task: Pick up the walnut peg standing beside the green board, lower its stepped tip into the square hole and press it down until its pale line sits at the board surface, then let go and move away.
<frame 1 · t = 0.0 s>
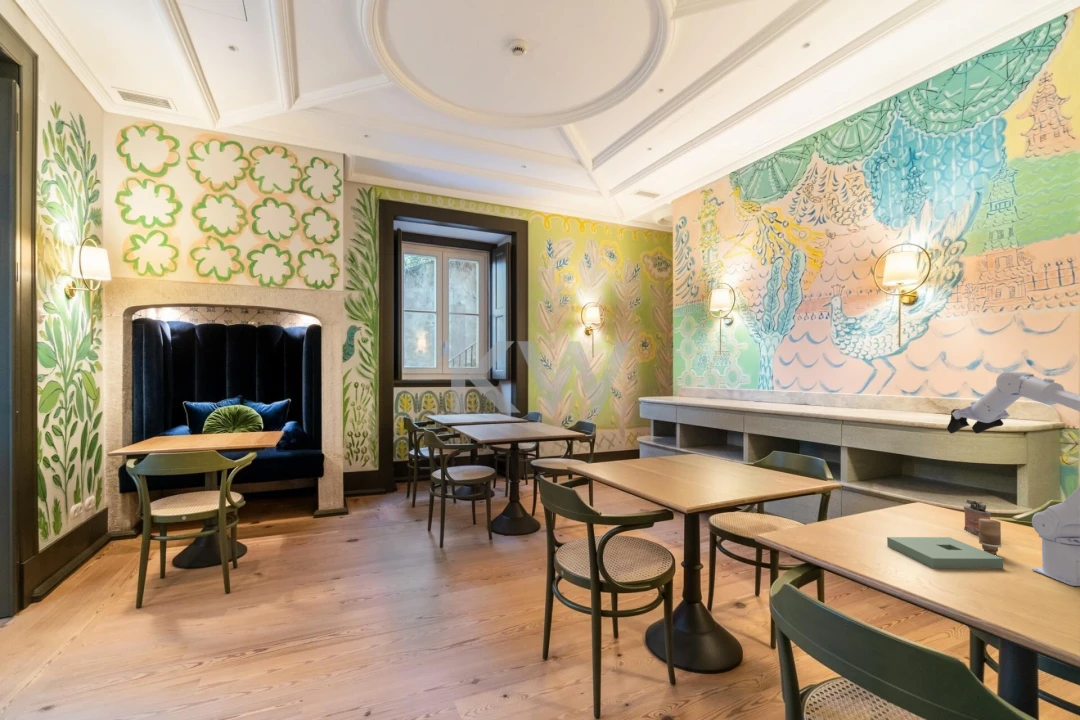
hand: (962, 430, 147), 32 cm above the table, tool tilted 50°, fingers open, 7 cm apart
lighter: (977, 534, 151), on the table
board: (941, 556, 131), on the table
peg: (990, 554, 133), on the table
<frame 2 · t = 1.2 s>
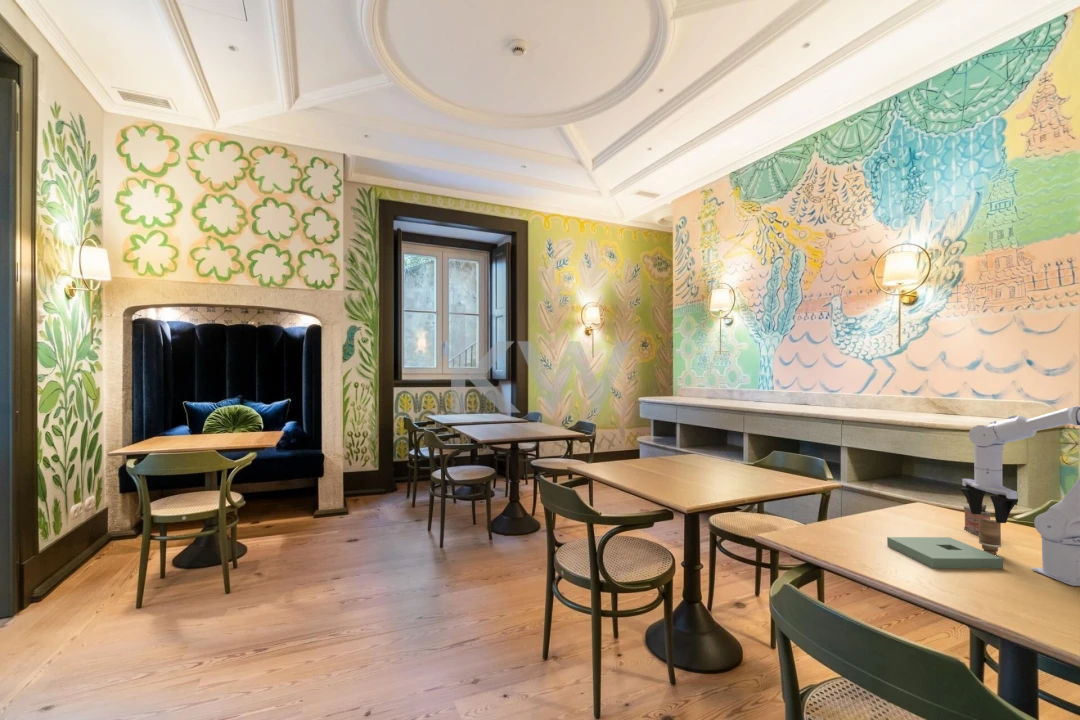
hand: (988, 518, 134), 10 cm above the table, tool pointing down, fingers open, 7 cm apart
nothing on the table moved.
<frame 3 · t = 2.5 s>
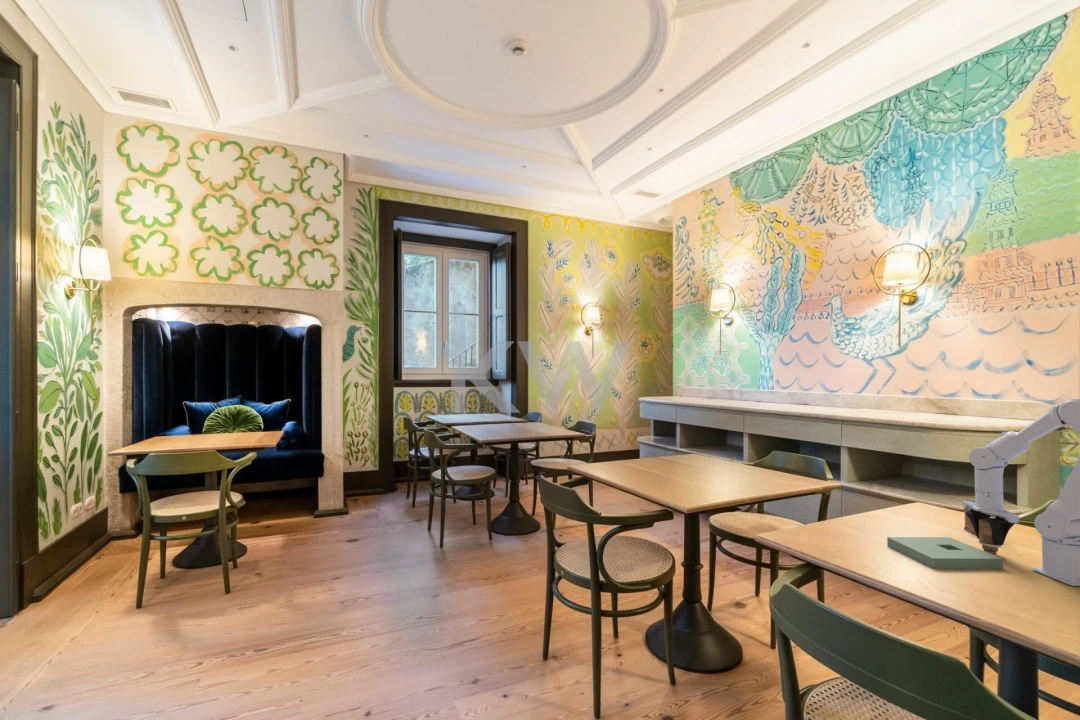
hand: (989, 541, 134), 3 cm above the table, tool pointing down, fingers closed on peg, 4 cm apart
peg: (990, 554, 133), on the table, touching gripper
everything else where it was.
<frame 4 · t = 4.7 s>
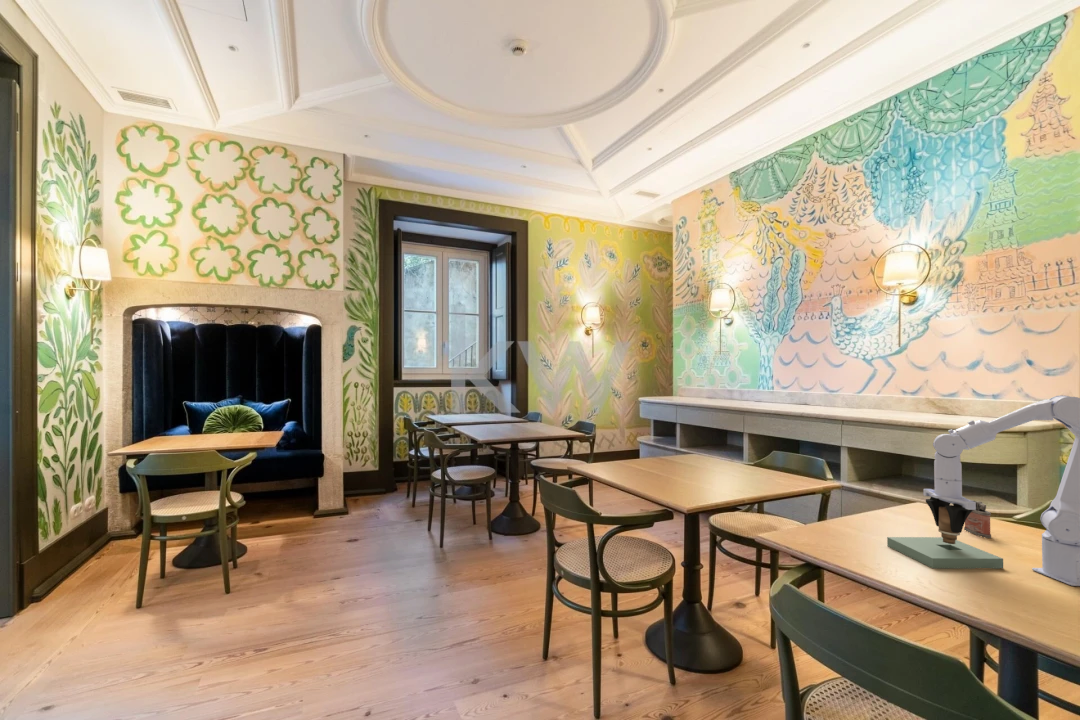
hand: (948, 529, 132), 7 cm above the table, tool pointing down, fingers closed on peg, 4 cm apart
peg: (949, 542, 131), point 4 cm above the table, touching gripper
everything else where it was.
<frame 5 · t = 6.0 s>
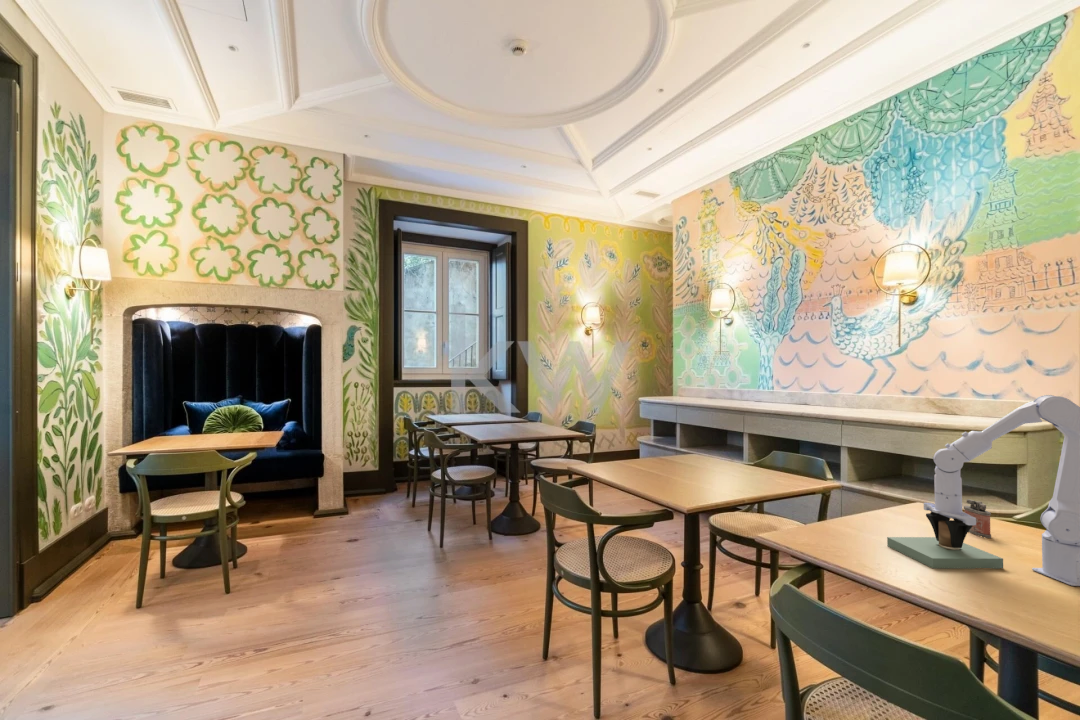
hand: (948, 544, 131), 3 cm above the table, tool pointing down, fingers closed on peg, 4 cm apart
peg: (949, 556, 131), resting in board, touching gripper
everything else where it was.
when the fingers open (3 cm above the table, at t = 6.8 s): peg stays where it is, resting in board.
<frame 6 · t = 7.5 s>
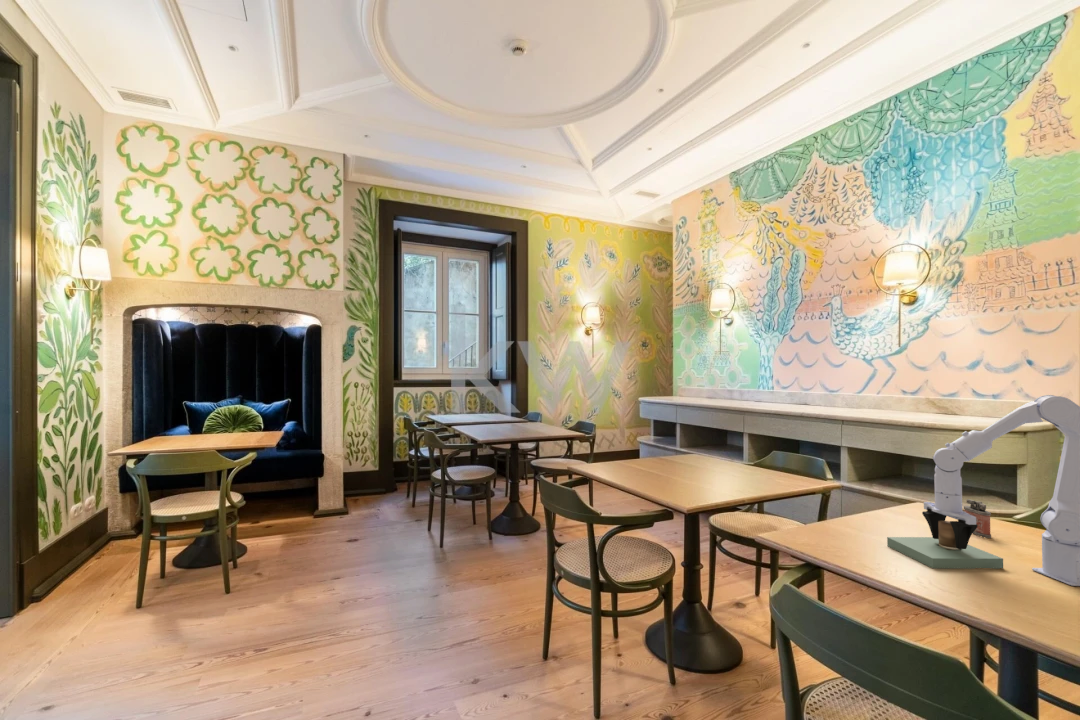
hand: (949, 543, 131), 4 cm above the table, tool pointing down, fingers open, 7 cm apart
peg: (949, 556, 131), resting in board
everything else where it was.
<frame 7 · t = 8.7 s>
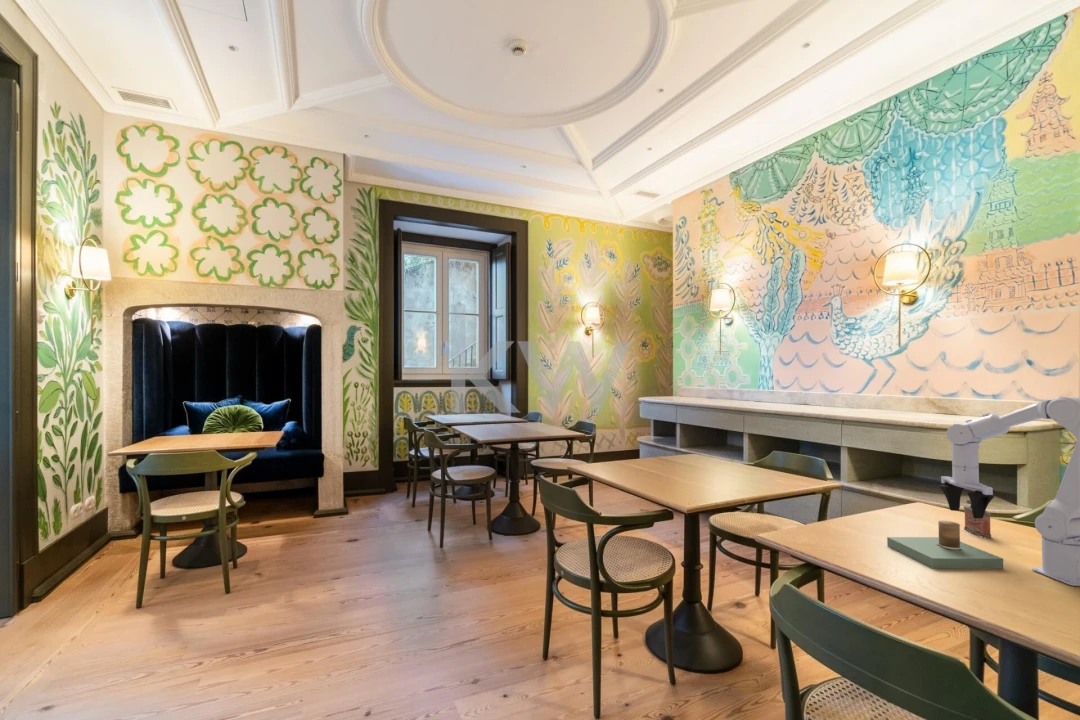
hand: (966, 514, 139), 9 cm above the table, tool pointing down, fingers open, 7 cm apart
nothing on the table moved.
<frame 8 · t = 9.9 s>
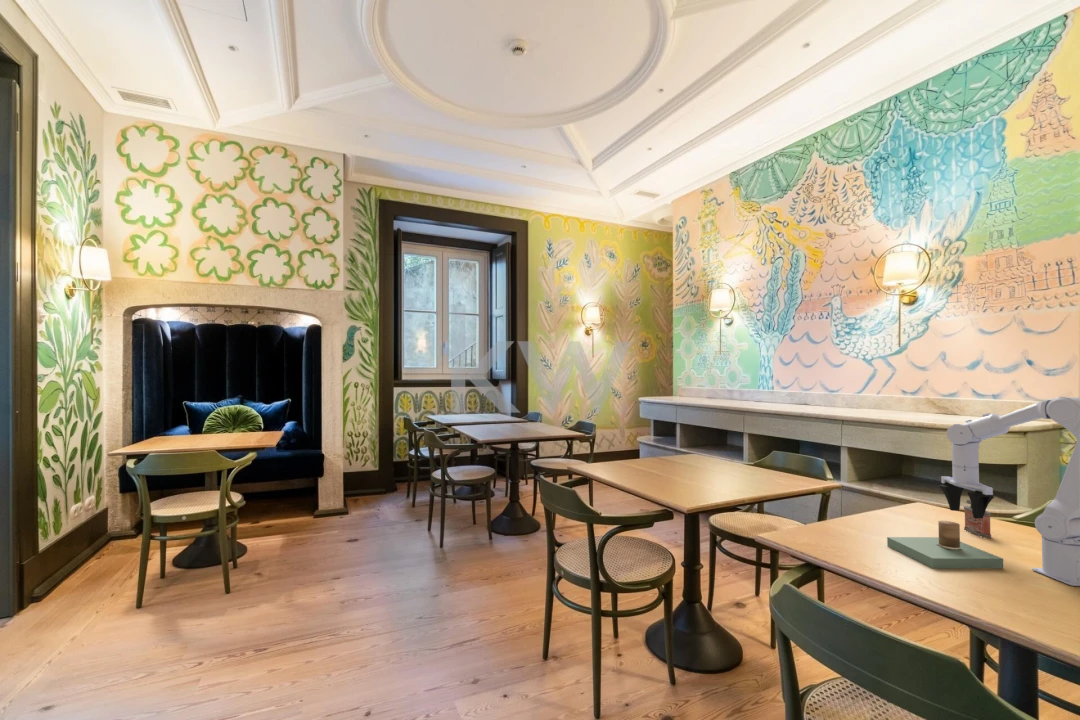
hand: (966, 514, 139), 9 cm above the table, tool pointing down, fingers open, 7 cm apart
nothing on the table moved.
at the end: peg 0.1 cm from the target spot, resting in board; peg tilted 0°; the gripper is holding nothing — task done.
